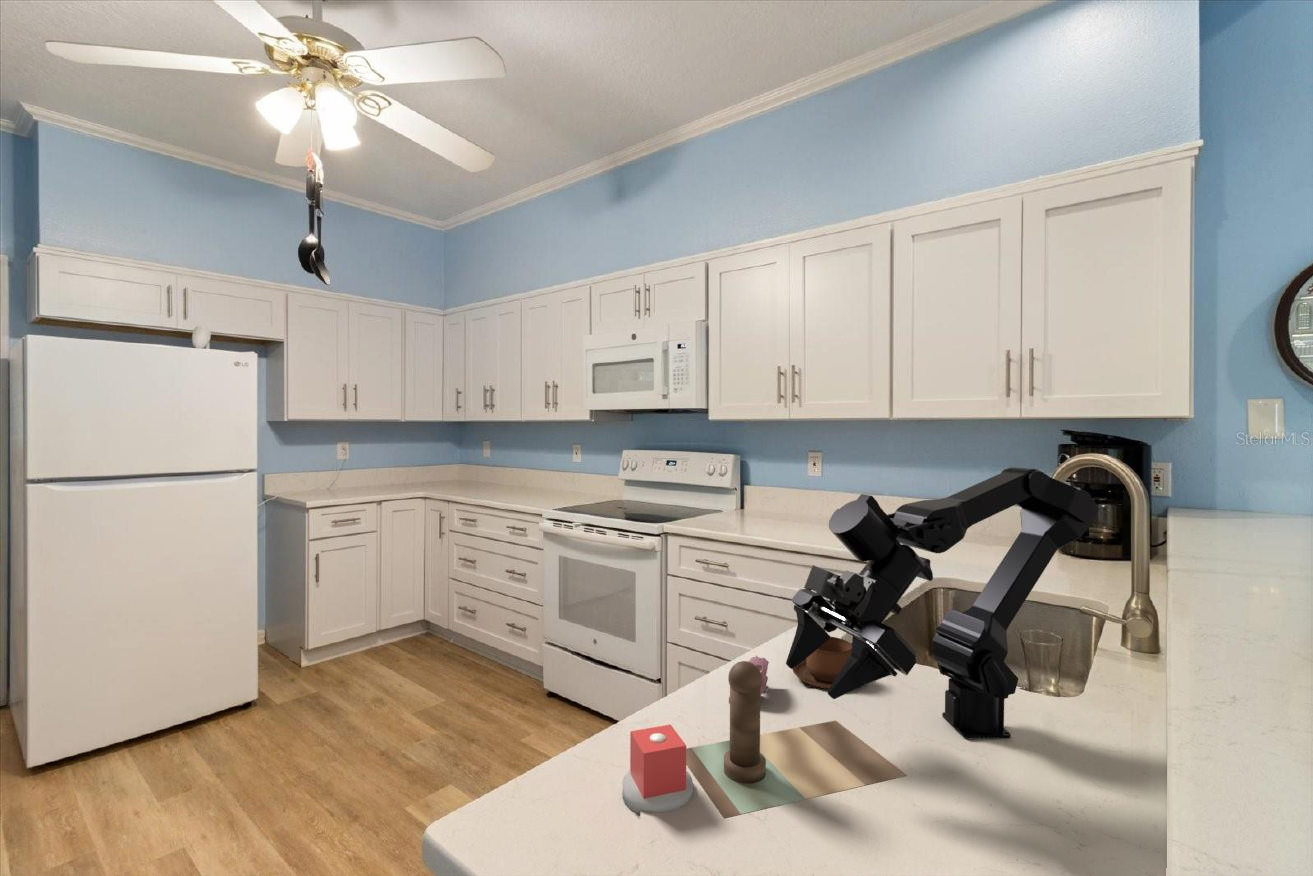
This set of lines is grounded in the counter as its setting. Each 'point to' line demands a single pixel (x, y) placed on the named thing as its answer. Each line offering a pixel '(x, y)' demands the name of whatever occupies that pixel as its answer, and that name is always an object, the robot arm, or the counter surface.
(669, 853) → the counter surface
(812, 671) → the cup and saucer
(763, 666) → the video game controller
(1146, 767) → the counter surface
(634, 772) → the die stand
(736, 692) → the pawn
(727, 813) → the game track
